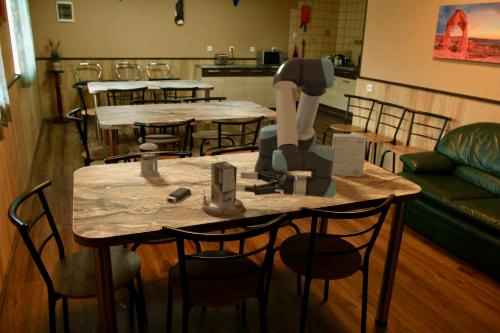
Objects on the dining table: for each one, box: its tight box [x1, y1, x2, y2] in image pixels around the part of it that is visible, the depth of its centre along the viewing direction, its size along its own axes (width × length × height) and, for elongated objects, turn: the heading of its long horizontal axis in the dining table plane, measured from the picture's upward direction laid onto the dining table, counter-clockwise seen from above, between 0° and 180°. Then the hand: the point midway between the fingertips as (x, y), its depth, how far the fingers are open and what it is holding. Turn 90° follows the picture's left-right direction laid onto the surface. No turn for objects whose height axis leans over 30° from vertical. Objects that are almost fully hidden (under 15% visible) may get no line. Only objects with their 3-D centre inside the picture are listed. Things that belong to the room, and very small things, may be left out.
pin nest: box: [202, 195, 244, 218], centre depth 159 cm, size 16×16×4 cm
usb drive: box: [166, 187, 192, 204], centre depth 169 cm, size 5×12×3 cm, turn 158°
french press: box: [138, 122, 161, 179], centre depth 190 cm, size 10×12×25 cm
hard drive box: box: [331, 133, 368, 178], centre depth 202 cm, size 16×8×20 cm, turn 84°
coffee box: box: [210, 161, 238, 209], centre depth 157 cm, size 9×6×16 cm
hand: (238, 180), depth 155 cm, fingers open, 13 cm apart
